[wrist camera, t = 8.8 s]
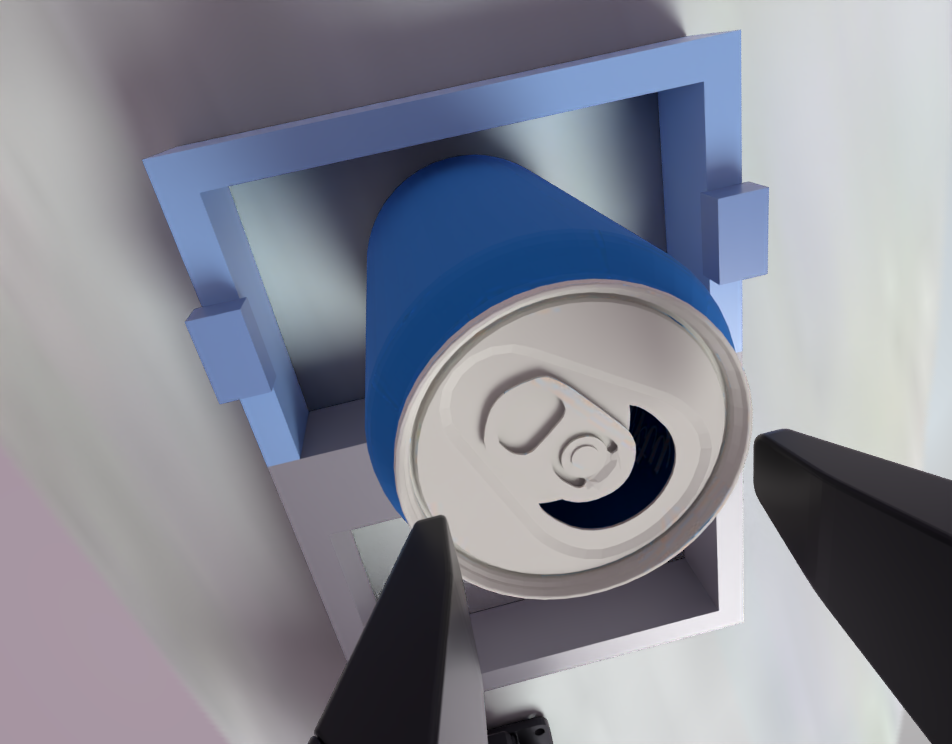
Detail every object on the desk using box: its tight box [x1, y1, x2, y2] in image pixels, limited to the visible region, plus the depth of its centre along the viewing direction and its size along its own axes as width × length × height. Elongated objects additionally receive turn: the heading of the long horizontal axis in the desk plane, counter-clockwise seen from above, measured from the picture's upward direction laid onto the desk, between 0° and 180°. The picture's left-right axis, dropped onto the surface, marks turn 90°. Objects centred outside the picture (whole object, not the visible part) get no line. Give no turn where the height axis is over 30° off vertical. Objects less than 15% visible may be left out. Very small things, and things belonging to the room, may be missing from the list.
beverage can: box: [365, 155, 753, 600], centre depth 15 cm, size 6×6×12 cm
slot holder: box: [142, 30, 769, 692], centre depth 21 cm, size 21×15×4 cm
